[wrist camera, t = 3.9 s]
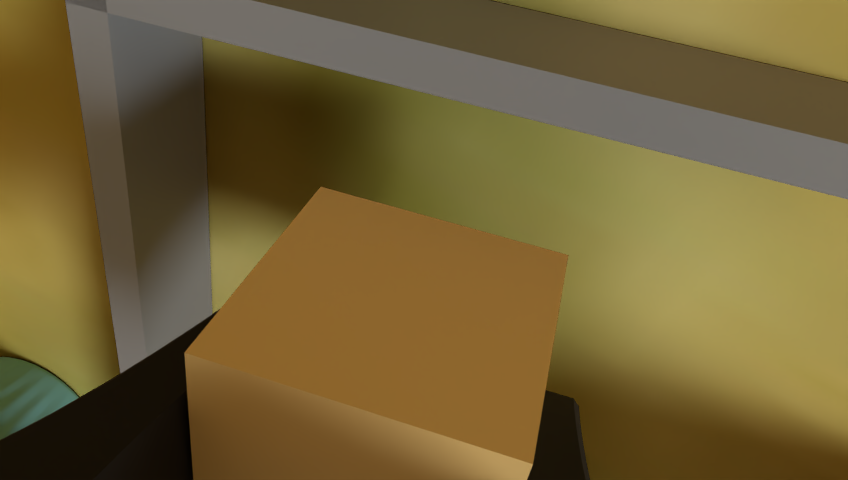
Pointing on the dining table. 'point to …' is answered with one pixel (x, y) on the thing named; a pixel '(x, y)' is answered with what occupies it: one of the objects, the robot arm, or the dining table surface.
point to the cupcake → (28, 394)
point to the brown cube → (377, 352)
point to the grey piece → (414, 69)
